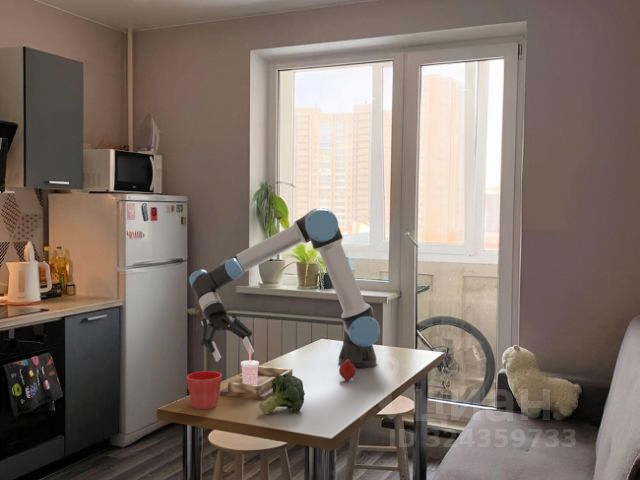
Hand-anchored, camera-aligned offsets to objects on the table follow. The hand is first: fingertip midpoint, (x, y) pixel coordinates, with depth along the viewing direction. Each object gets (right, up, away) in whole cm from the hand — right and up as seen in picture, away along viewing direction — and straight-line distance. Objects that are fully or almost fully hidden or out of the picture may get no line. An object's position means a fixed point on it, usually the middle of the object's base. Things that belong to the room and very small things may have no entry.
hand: (235, 356), depth 229 cm
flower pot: (-7, -12, -21) cm, 25 cm away
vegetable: (+18, -12, -26) cm, 34 cm away
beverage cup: (+6, -10, -6) cm, 13 cm away
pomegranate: (+39, -11, +9) cm, 41 cm away
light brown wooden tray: (+8, -11, 0) cm, 13 cm away
